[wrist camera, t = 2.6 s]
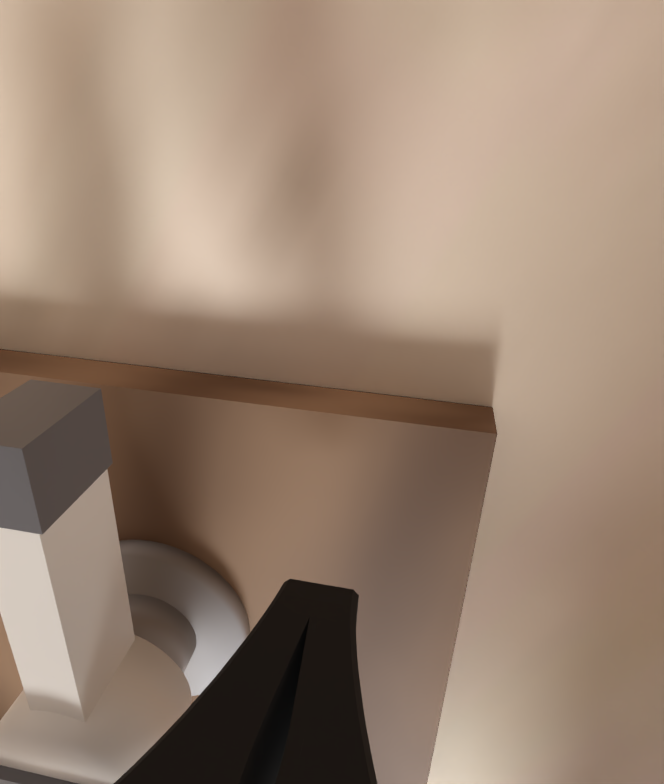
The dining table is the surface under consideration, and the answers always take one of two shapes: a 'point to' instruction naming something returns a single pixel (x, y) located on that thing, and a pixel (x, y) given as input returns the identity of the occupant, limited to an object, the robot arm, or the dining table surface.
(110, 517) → the gray-tipped lever post
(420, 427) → the brown rectangular board
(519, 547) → the dining table surface
